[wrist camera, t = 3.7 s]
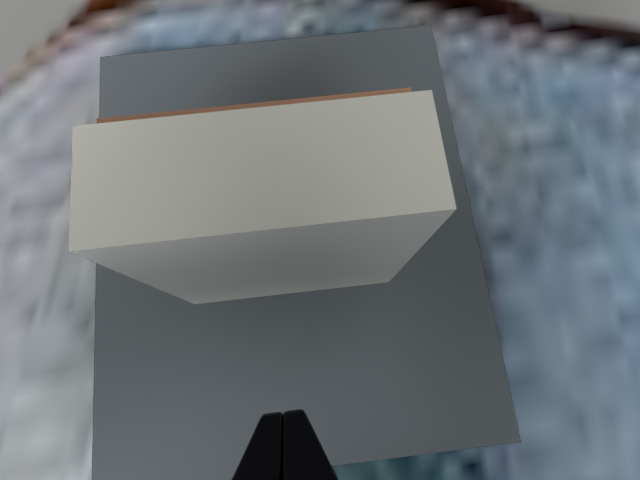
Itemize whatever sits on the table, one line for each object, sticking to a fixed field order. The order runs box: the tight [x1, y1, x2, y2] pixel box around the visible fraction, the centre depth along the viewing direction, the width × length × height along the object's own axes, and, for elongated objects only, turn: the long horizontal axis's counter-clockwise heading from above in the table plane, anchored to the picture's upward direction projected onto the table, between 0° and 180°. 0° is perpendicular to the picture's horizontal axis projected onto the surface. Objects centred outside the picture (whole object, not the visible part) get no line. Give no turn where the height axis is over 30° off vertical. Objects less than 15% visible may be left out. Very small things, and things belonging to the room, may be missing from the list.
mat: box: [92, 25, 521, 480], centre depth 17 cm, size 16×14×1 cm
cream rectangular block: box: [68, 87, 456, 304], centre depth 12 cm, size 3×7×8 cm, turn 97°
